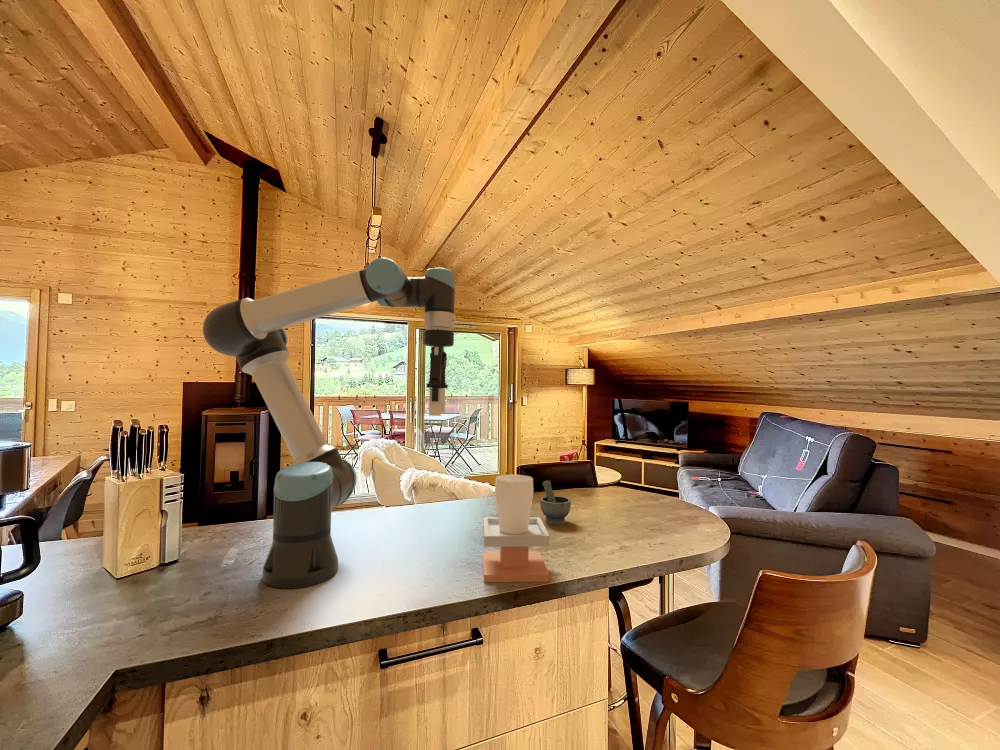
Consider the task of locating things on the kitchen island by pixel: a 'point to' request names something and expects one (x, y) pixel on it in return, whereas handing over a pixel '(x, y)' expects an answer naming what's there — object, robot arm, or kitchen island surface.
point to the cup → (513, 502)
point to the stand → (514, 553)
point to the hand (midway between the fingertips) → (437, 414)
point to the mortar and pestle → (554, 506)
